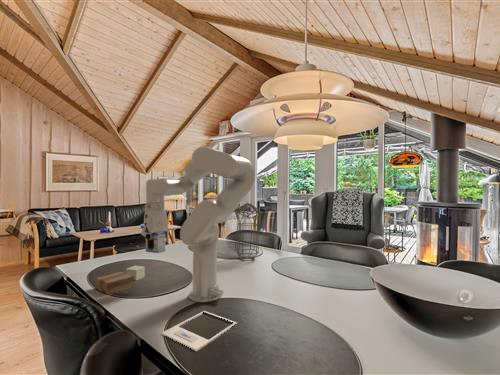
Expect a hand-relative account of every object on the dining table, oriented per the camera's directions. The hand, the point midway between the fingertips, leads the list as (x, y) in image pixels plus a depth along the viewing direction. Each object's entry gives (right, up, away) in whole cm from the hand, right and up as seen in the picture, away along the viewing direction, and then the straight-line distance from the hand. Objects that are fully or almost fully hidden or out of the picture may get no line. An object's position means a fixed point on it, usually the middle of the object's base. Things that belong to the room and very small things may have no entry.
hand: (155, 247), depth 121 cm
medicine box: (0, -2, 0) cm, 2 cm away
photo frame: (+27, -18, -37) cm, 49 cm away
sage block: (-13, -17, +10) cm, 24 cm away
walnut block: (-17, -17, -3) cm, 24 cm away
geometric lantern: (+41, -18, +49) cm, 66 cm away
